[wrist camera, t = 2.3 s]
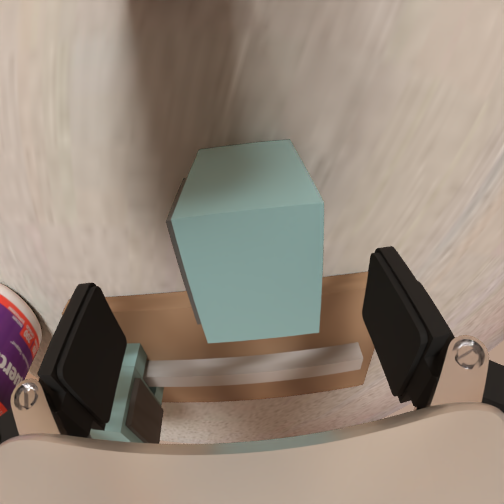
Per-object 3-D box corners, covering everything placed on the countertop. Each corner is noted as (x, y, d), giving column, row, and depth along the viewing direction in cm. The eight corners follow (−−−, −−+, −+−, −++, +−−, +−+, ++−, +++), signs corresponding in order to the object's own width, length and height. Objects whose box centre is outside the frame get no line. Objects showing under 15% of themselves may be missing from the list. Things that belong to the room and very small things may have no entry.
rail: (382, 269, 19) (434, 377, 12) (359, 371, 26) (380, 453, 19) (69, 299, 20) (25, 396, 13) (127, 387, 27) (112, 465, 20)
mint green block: (289, 139, 14) (324, 202, 9) (294, 236, 18) (319, 332, 12) (191, 150, 15) (158, 221, 9) (210, 245, 18) (198, 343, 12)
